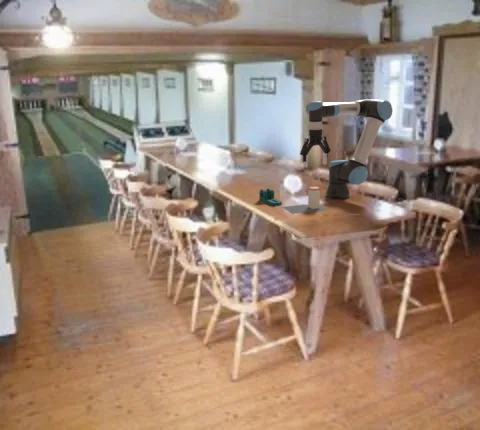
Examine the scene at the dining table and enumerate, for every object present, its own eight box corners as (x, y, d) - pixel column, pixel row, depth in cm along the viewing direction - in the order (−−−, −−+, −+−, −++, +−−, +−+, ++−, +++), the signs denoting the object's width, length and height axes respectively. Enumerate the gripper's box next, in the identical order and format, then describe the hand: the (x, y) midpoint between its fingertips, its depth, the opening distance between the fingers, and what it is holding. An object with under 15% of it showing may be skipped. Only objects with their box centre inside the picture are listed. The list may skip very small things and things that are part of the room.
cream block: (316, 206, 310) (316, 186, 307) (319, 208, 305) (320, 188, 302) (308, 206, 308) (308, 187, 305) (311, 209, 304) (312, 188, 301)
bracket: (259, 200, 328) (259, 188, 325) (268, 199, 330) (268, 187, 328) (274, 207, 312) (274, 194, 310) (283, 205, 315) (283, 193, 313)
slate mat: (315, 204, 316) (315, 203, 316) (327, 211, 301) (327, 210, 301) (281, 207, 310) (281, 206, 310) (292, 214, 295) (292, 213, 295)
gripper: (328, 126, 306) (328, 162, 312) (293, 130, 294) (293, 167, 300) (337, 127, 300) (336, 163, 306) (301, 131, 288) (301, 169, 294)
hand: (315, 165), depth 303 cm, fingers open, 13 cm apart
